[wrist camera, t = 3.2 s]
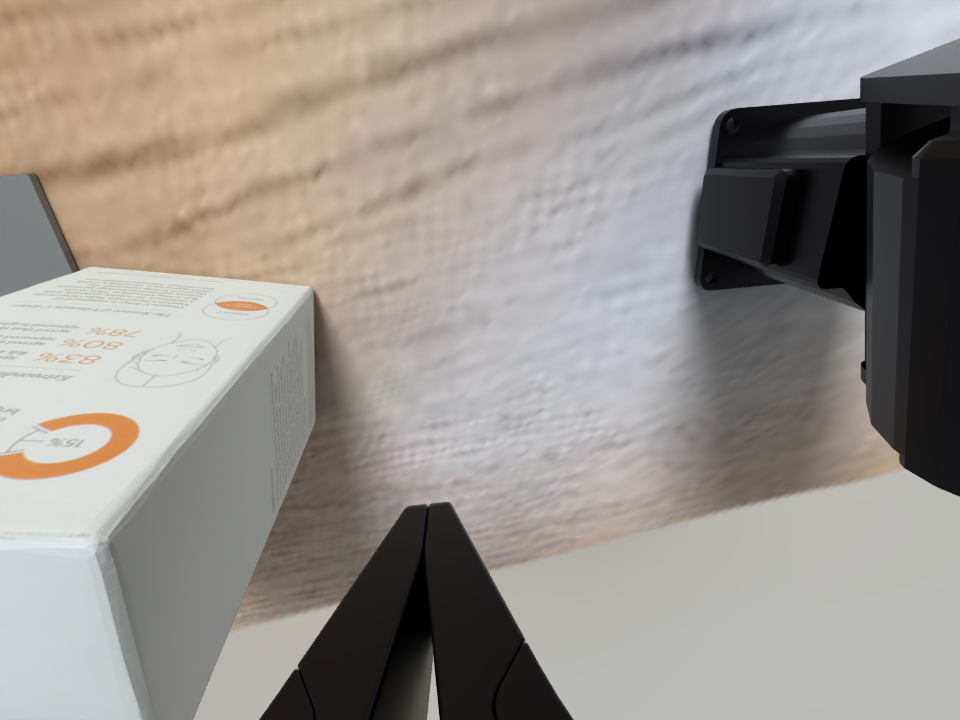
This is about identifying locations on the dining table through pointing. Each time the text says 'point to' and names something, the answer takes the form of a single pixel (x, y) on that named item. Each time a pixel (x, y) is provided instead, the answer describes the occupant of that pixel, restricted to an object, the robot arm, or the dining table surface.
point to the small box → (139, 480)
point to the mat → (29, 236)
